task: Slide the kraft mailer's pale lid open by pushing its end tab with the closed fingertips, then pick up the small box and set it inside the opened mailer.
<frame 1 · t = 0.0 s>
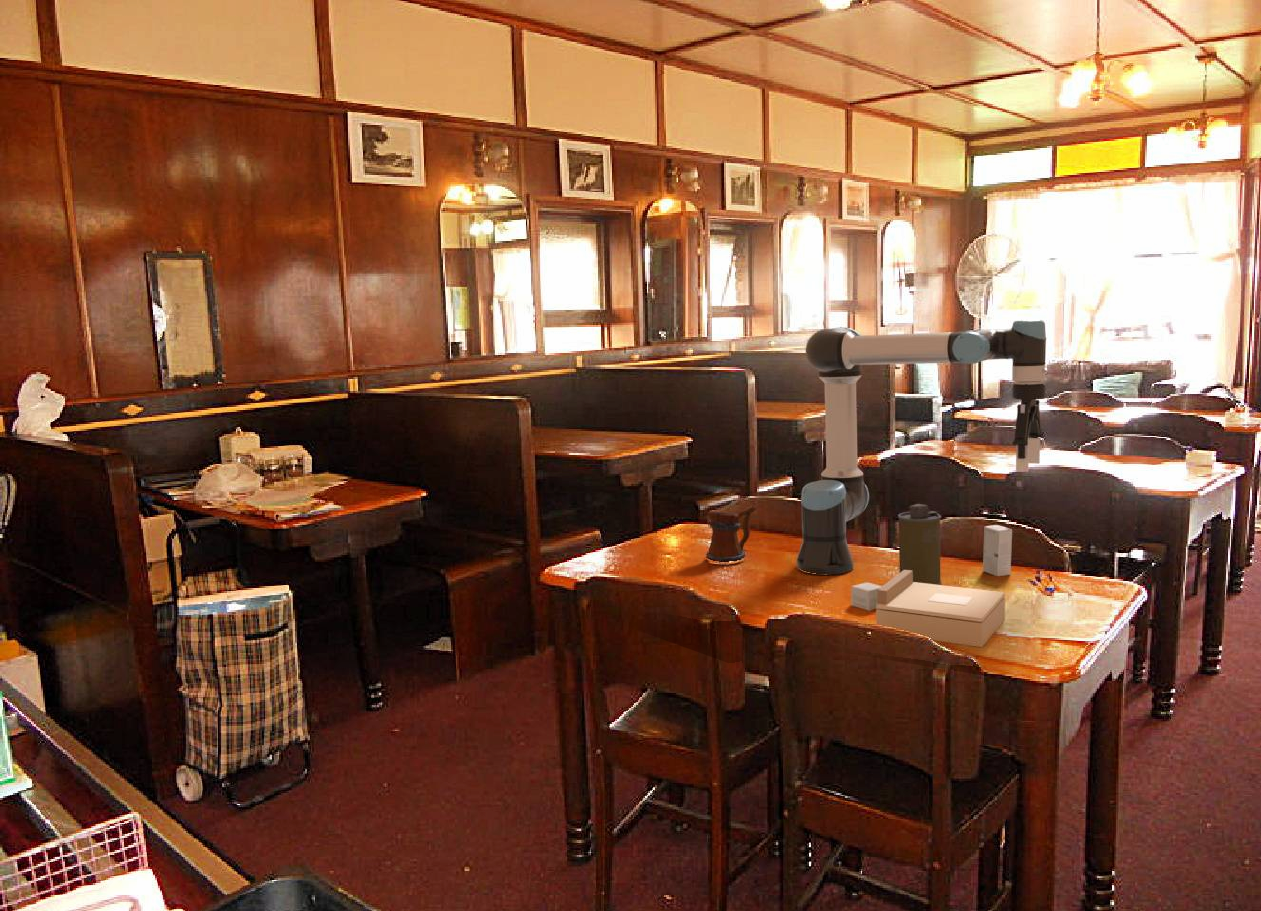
hand: (1028, 467, 234), 28 cm above the table, fingers open, 13 cm apart
canister: (920, 583, 237), on the table
skincare box: (997, 573, 241), on the table
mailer: (941, 625, 204), on the table
small box: (868, 607, 220), on the table
lid: (941, 593, 203), point 7 cm above the table, slide at 0.0 cm
mug: (733, 559, 270), on the table
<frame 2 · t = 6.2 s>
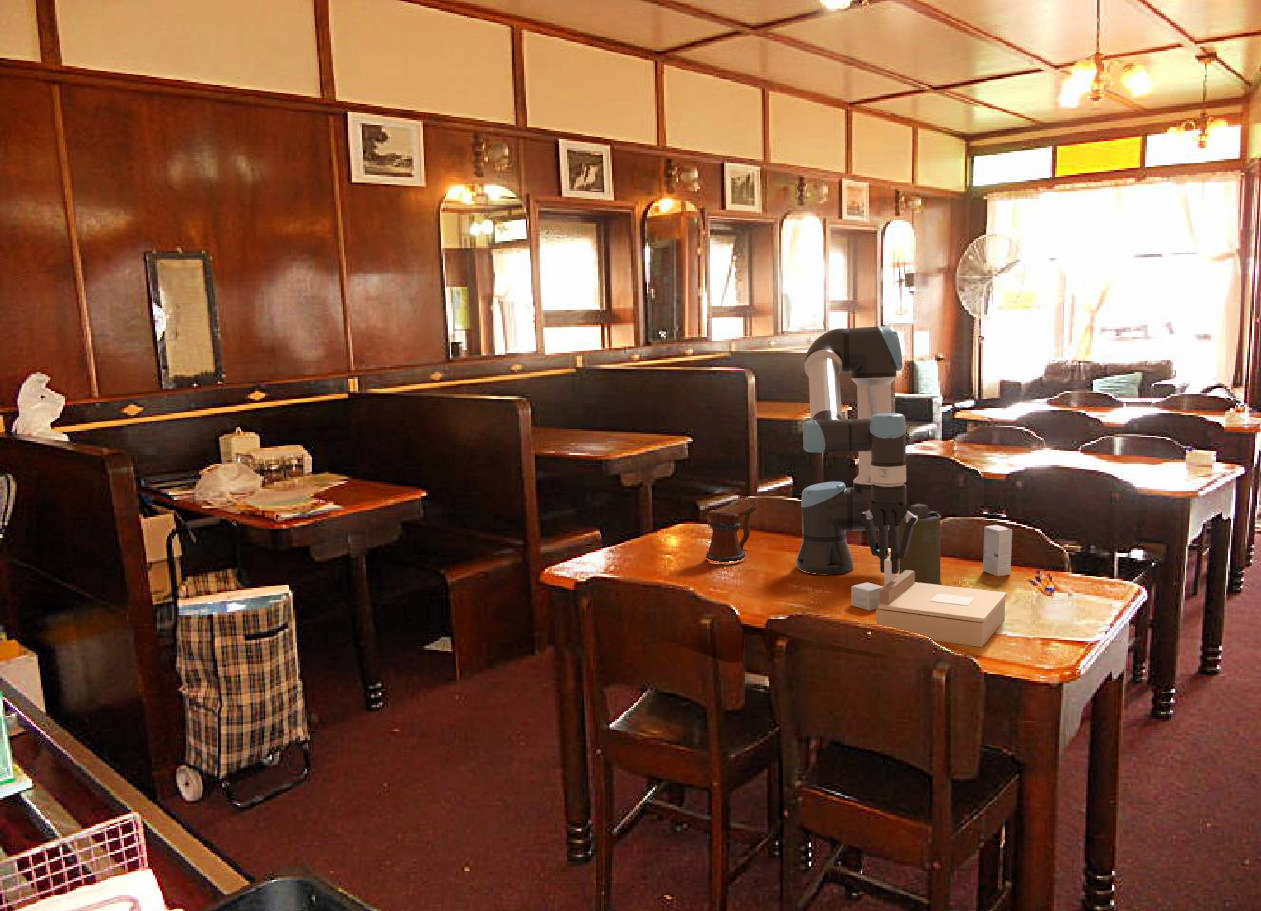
hand: (889, 587, 209), 7 cm above the table, fingers closed
lid: (943, 593, 202), point 7 cm above the table, slide at 0.5 cm, touching gripper
everything else where it was.
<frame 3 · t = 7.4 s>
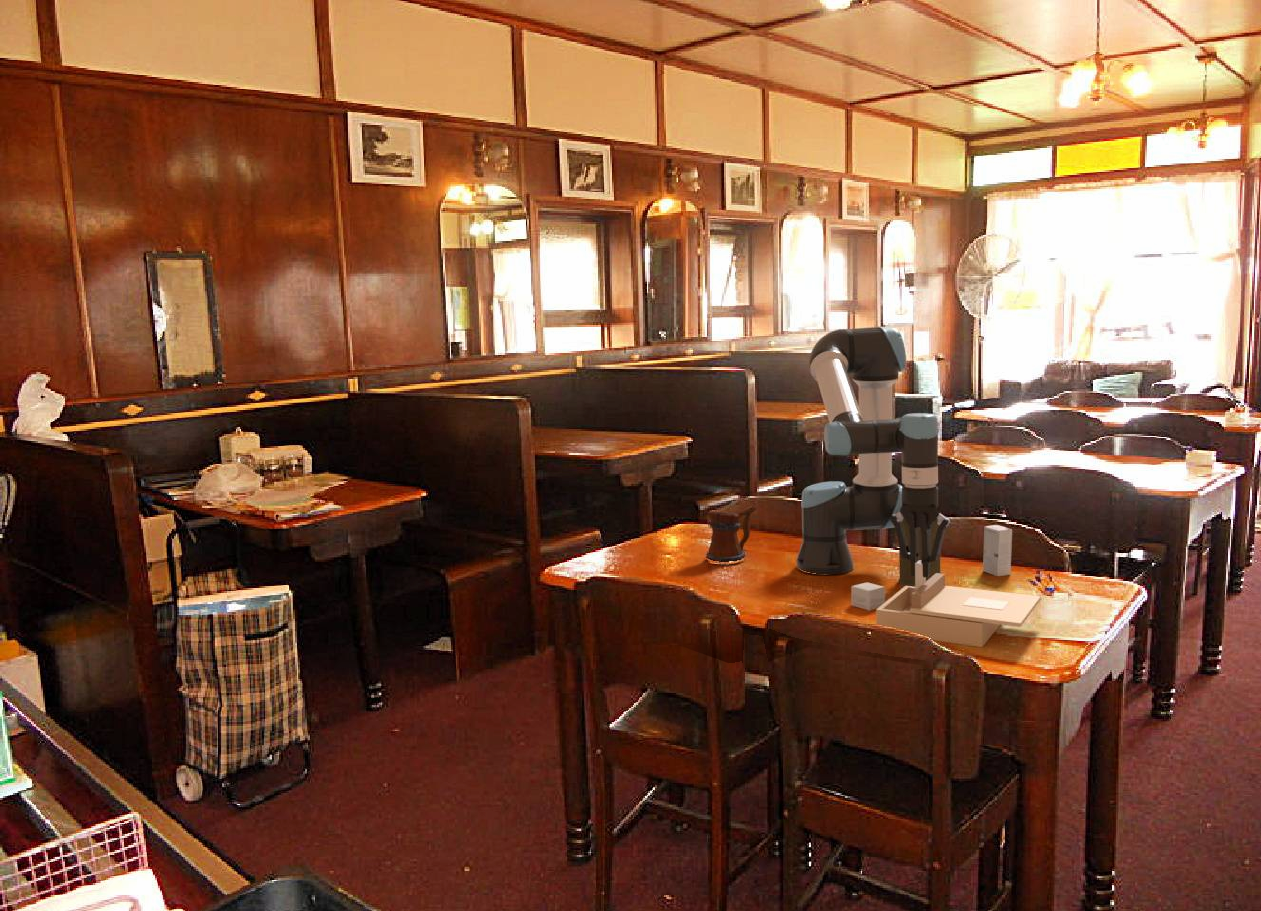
hand: (920, 590, 205), 7 cm above the table, fingers closed
lid: (976, 597, 199), point 7 cm above the table, slide at 7.3 cm, touching gripper
everything else where it was.
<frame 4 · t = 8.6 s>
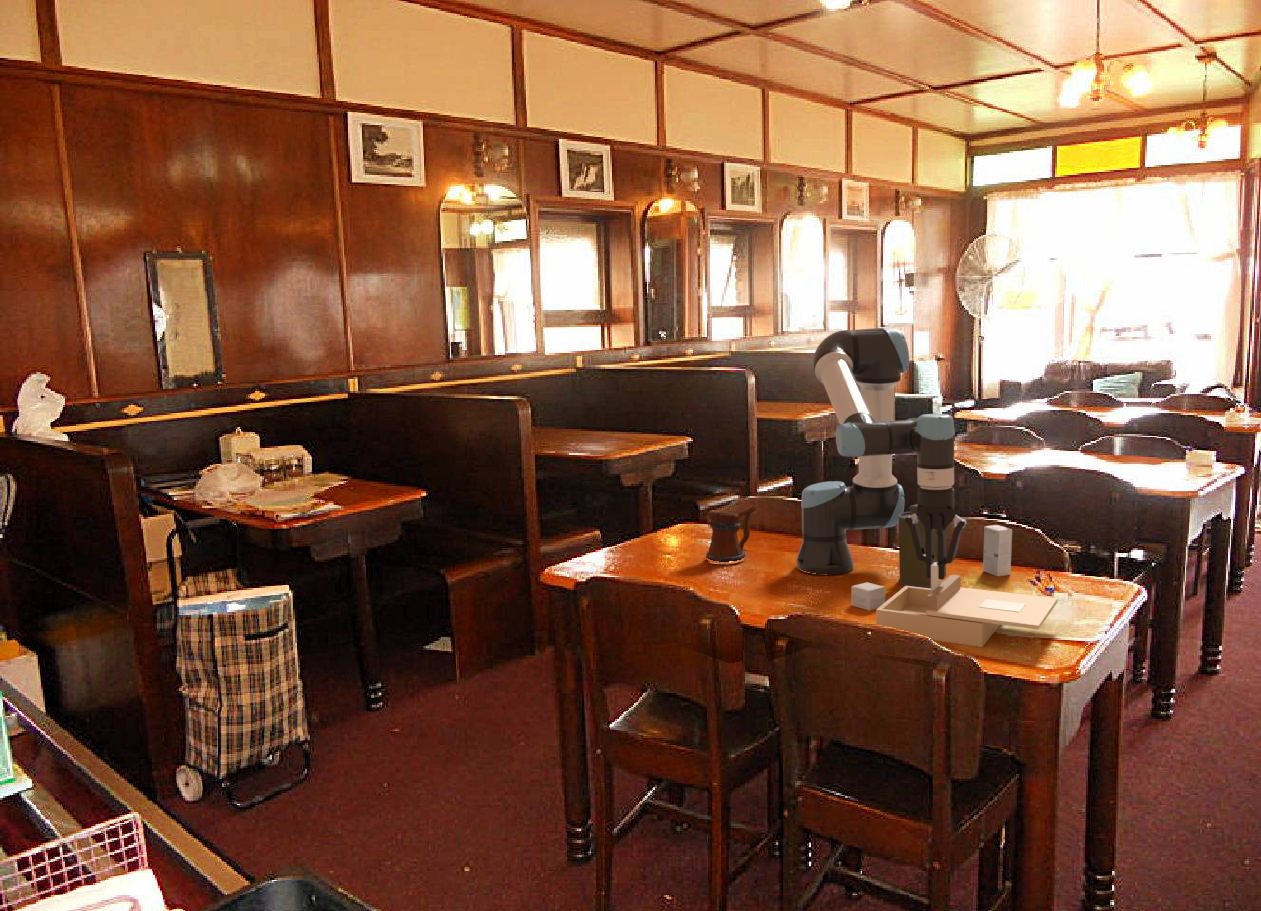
hand: (936, 592, 203), 7 cm above the table, fingers closed
lid: (992, 599, 197), point 7 cm above the table, slide at 10.7 cm, touching gripper
everything else where it was.
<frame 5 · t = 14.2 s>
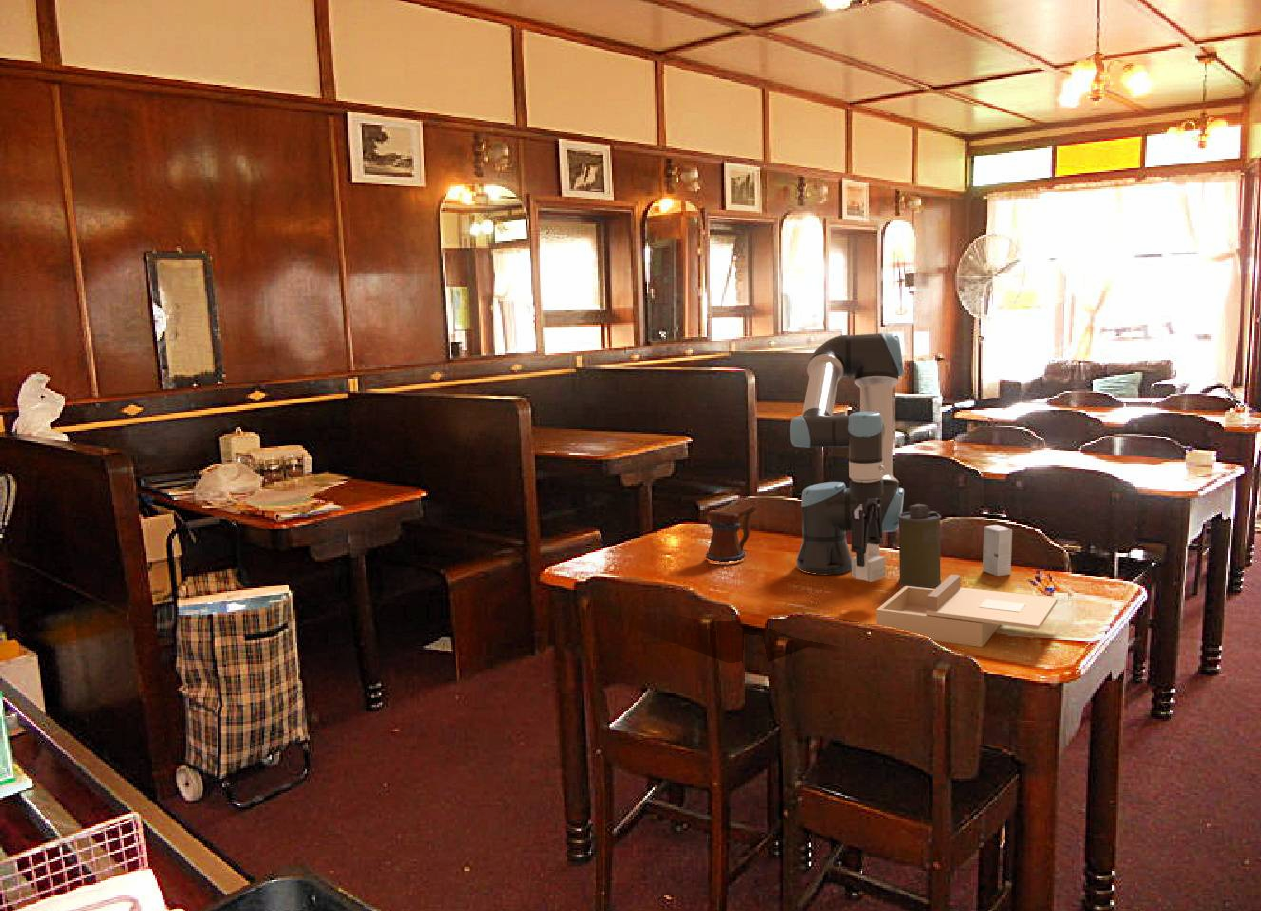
hand: (867, 574, 220), 7 cm above the table, fingers closed on small box, 7 cm apart
small box: (868, 577, 220), point 7 cm above the table, touching gripper
lid: (992, 599, 197), point 7 cm above the table, slide at 10.7 cm
everything else where it was.
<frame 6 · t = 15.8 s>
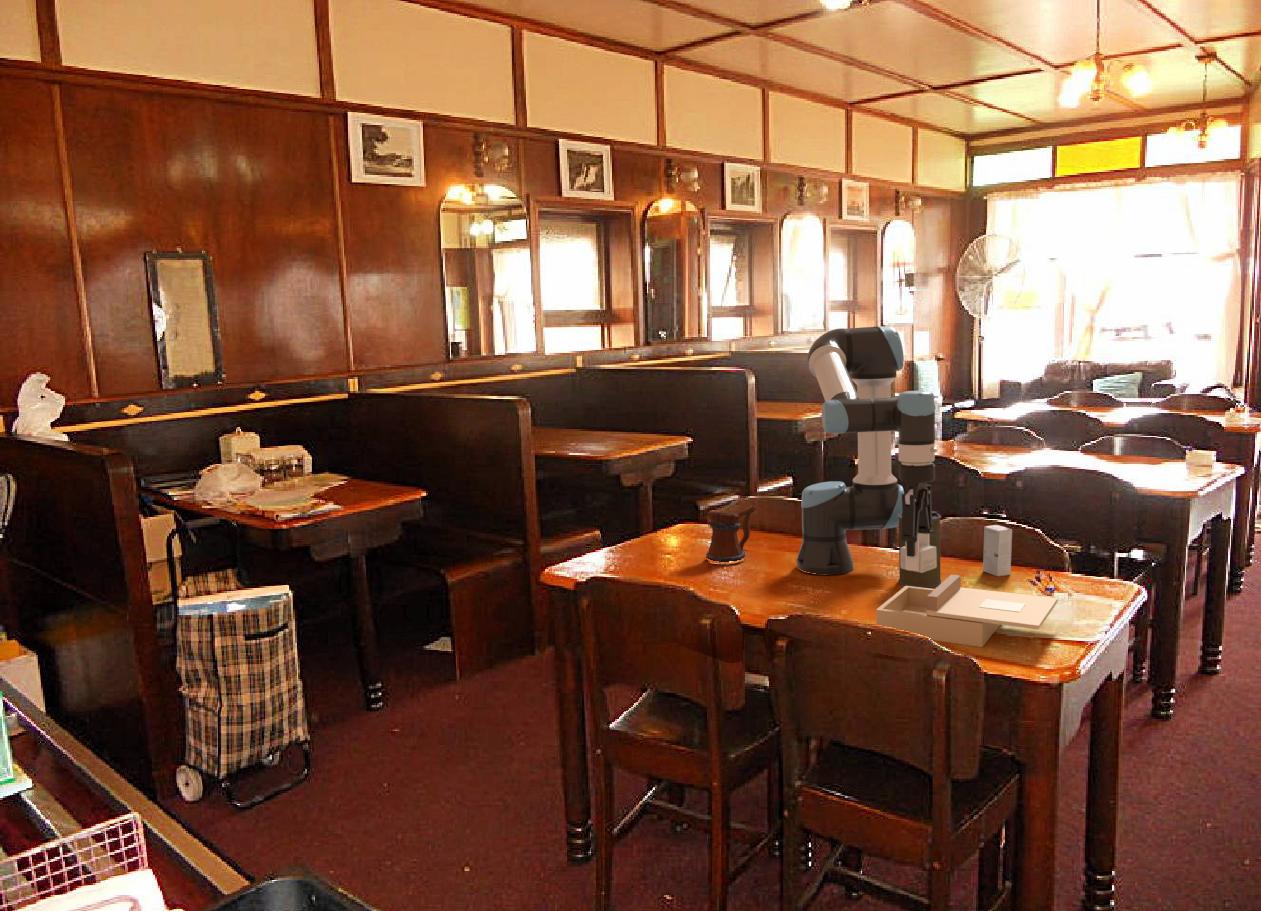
hand: (917, 565, 205), 13 cm above the table, fingers closed on small box, 7 cm apart
small box: (918, 569, 205), point 12 cm above the table, touching gripper
everything else where it was.
when the fingers open (1 cm above the table, at t = 17.8 s): small box stays where it is, resting on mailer.
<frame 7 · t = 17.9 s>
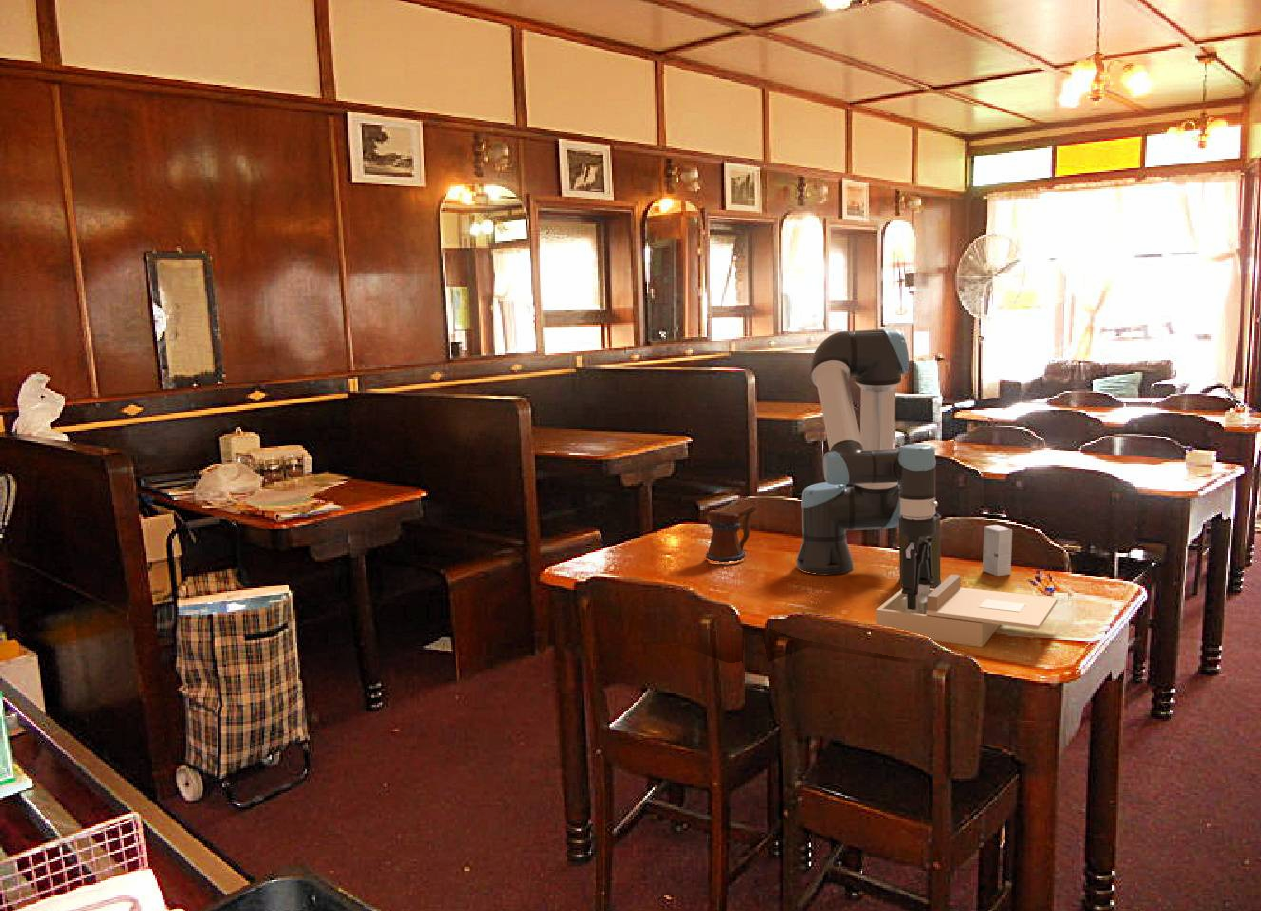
hand: (918, 617, 206), 1 cm above the table, fingers open, 7 cm apart
small box: (919, 619, 206), point 1 cm above the table, touching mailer
everything else where it was.
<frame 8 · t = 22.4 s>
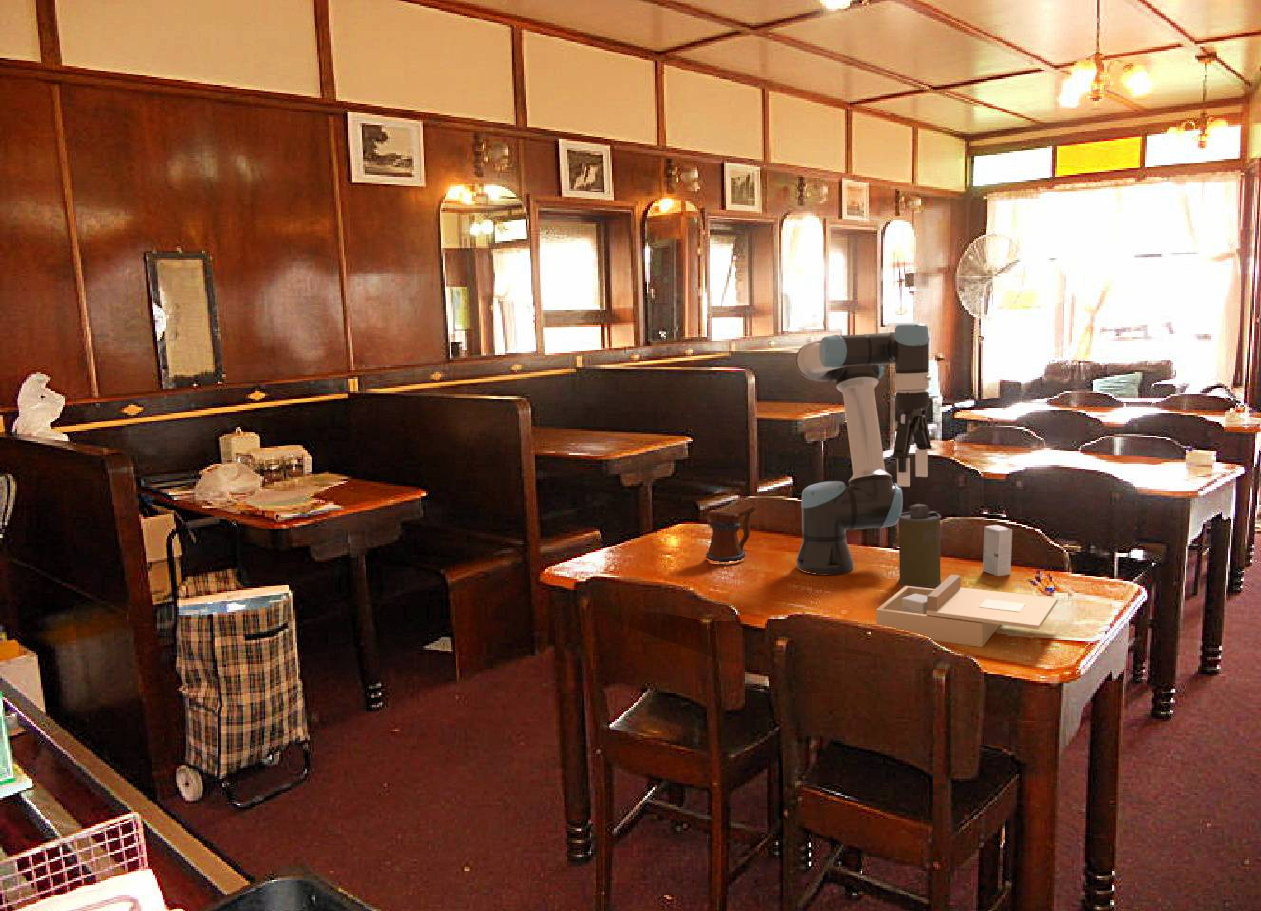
hand: (912, 481, 219), 29 cm above the table, fingers open, 13 cm apart
nothing on the table moved.
at the end: lid slide at 10.7 cm; small box inside the target area on the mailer (0.3 cm from its centre), point 0.6 cm above the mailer's base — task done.
